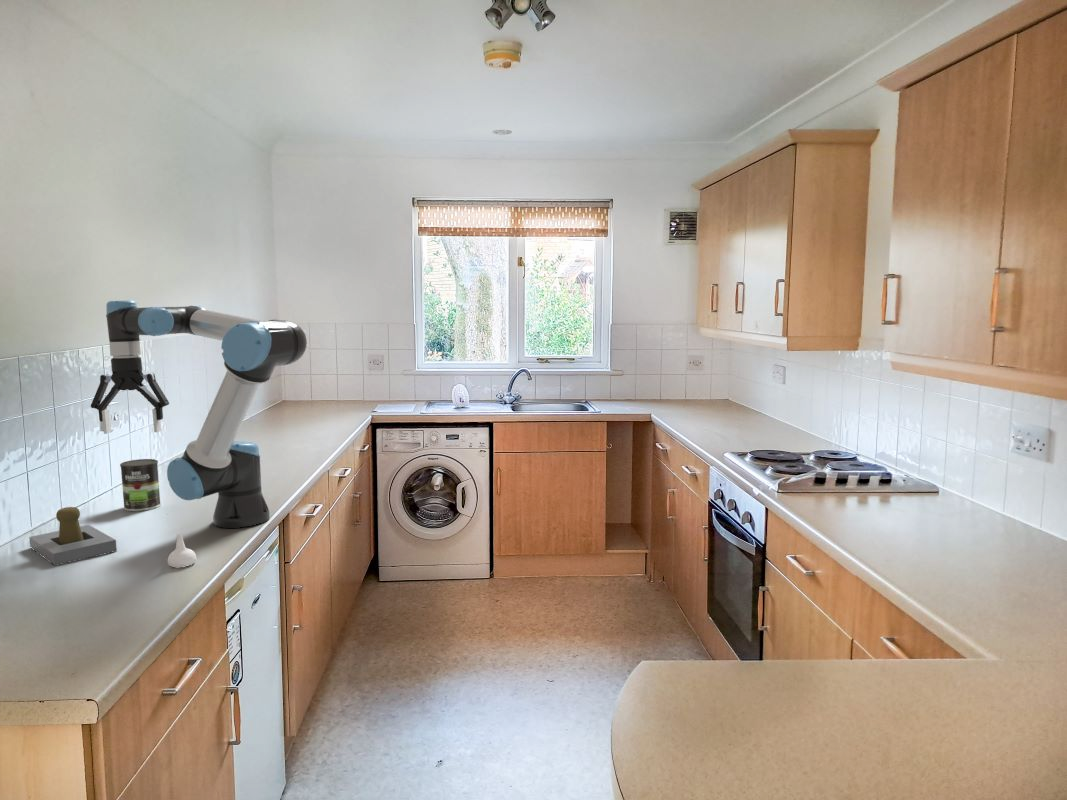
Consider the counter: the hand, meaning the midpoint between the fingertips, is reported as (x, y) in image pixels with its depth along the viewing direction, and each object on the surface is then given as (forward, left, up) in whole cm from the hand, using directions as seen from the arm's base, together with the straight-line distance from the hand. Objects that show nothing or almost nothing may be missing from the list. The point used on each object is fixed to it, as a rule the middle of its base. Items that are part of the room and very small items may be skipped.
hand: (132, 432), depth 218 cm
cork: (-10, +21, -27) cm, 35 cm away
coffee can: (+19, -8, -27) cm, 33 cm away
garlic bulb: (-43, +6, -27) cm, 51 cm away
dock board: (-10, +20, -27) cm, 35 cm away
